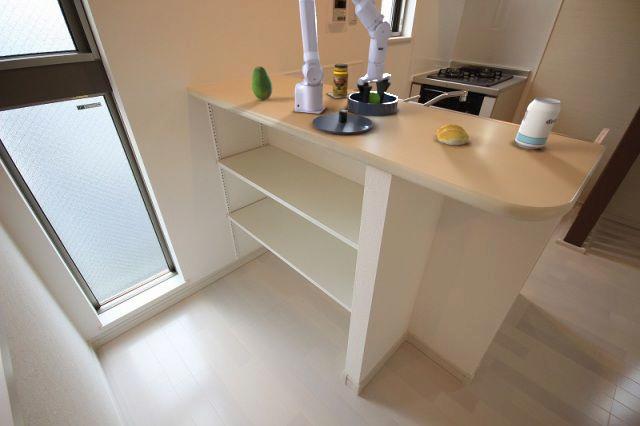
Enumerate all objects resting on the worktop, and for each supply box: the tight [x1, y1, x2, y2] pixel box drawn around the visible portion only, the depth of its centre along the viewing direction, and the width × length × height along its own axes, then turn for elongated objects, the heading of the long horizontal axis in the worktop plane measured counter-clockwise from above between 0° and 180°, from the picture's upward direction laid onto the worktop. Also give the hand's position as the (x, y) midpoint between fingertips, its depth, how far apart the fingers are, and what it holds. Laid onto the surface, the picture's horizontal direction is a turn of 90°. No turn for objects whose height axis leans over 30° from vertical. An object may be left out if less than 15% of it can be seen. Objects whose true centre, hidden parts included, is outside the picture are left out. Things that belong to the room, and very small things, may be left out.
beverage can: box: [514, 97, 562, 150], centre depth 78 cm, size 7×7×12 cm
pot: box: [346, 91, 399, 117], centre depth 109 cm, size 18×18×4 cm
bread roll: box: [436, 123, 470, 146], centre depth 83 cm, size 8×9×4 cm
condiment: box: [327, 63, 349, 99], centre depth 123 cm, size 7×8×12 cm
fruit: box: [251, 65, 273, 101], centre depth 115 cm, size 8×8×12 cm
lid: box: [312, 109, 374, 135], centre depth 92 cm, size 19×19×4 cm
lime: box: [368, 91, 380, 104], centre depth 108 cm, size 6×6×6 cm
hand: (372, 103), depth 109 cm, fingers open, 7 cm apart
